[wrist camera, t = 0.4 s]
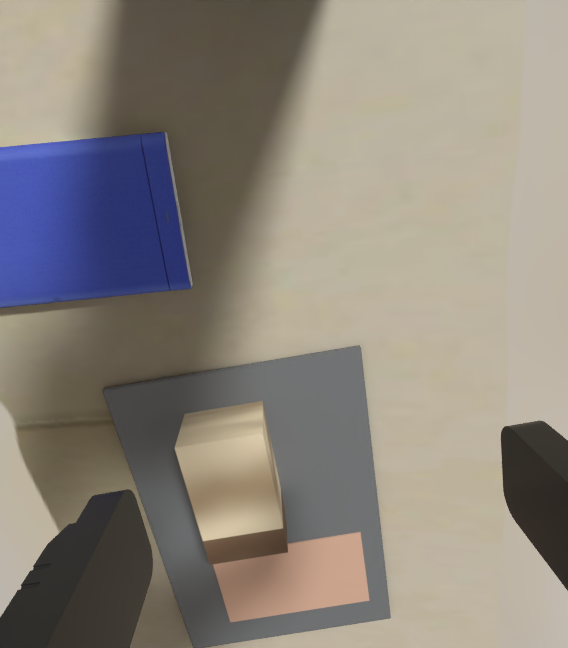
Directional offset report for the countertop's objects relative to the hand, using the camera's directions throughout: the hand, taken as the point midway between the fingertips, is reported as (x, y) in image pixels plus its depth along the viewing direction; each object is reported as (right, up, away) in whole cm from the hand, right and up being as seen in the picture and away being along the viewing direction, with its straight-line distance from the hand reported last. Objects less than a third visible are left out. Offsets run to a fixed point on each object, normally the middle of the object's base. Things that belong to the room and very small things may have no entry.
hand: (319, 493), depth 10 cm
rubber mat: (-2, -10, +22) cm, 25 cm away
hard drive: (-13, +9, +15) cm, 22 cm away
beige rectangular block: (-4, -6, +20) cm, 21 cm away
